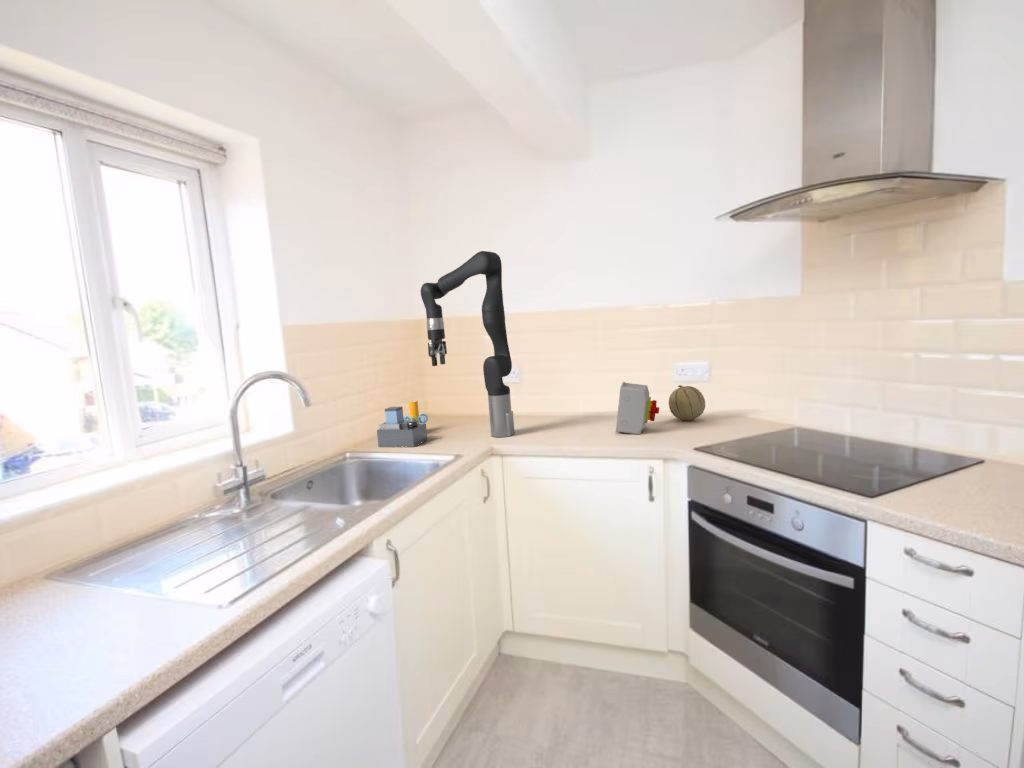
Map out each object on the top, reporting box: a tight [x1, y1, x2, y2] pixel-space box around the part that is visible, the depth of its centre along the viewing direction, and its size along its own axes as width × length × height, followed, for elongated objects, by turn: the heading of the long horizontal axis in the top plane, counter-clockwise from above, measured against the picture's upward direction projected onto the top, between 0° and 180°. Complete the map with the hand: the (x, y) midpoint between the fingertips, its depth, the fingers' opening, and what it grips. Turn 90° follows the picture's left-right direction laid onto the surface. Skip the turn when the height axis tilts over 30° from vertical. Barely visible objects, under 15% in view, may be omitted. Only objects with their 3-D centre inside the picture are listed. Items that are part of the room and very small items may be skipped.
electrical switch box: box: [615, 381, 660, 435], centre depth 203 cm, size 15×15×20 cm
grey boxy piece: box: [376, 419, 428, 448], centre depth 211 cm, size 16×12×9 cm
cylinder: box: [403, 400, 429, 424], centre depth 228 cm, size 12×10×15 cm
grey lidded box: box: [384, 406, 405, 424], centre depth 211 cm, size 5×5×8 cm
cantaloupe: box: [668, 385, 706, 422], centre depth 217 cm, size 15×15×15 cm
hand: (439, 365), depth 229 cm, fingers open, 8 cm apart
